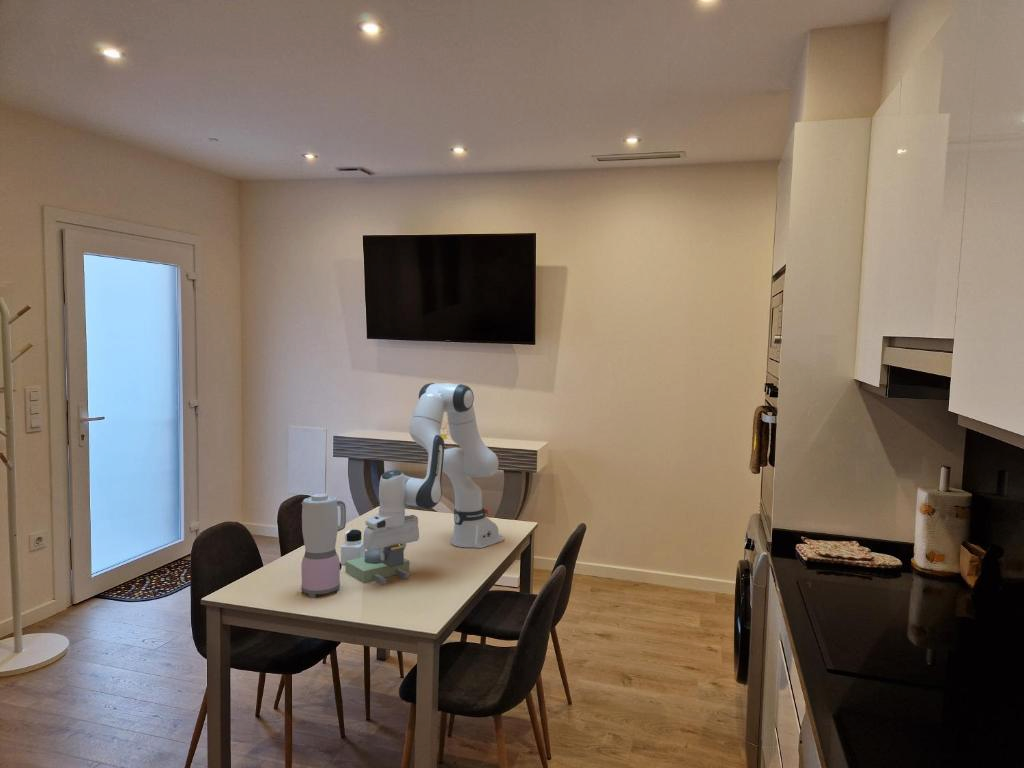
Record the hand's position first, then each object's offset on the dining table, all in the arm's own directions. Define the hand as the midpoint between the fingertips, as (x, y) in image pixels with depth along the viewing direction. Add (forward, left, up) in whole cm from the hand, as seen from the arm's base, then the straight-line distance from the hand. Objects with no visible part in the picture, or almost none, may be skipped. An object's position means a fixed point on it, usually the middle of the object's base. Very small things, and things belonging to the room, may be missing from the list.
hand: (392, 558), depth 232 cm
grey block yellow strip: (0, 0, -2) cm, 2 cm away
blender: (+22, -6, -8) cm, 24 cm away
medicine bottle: (+2, -26, -8) cm, 27 cm away
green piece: (0, -8, -8) cm, 11 cm away
